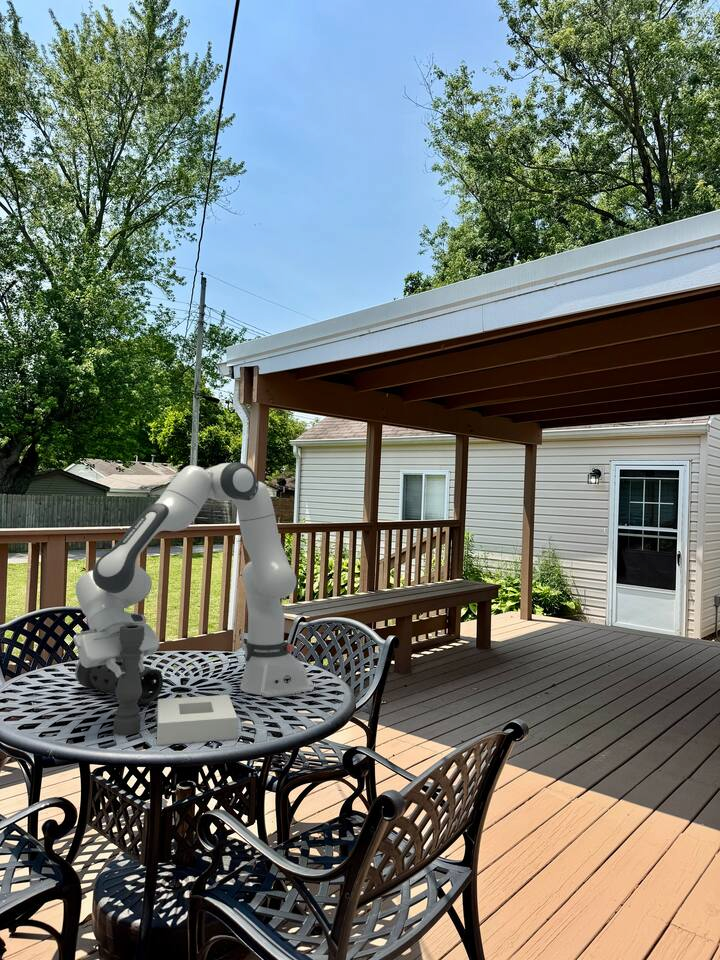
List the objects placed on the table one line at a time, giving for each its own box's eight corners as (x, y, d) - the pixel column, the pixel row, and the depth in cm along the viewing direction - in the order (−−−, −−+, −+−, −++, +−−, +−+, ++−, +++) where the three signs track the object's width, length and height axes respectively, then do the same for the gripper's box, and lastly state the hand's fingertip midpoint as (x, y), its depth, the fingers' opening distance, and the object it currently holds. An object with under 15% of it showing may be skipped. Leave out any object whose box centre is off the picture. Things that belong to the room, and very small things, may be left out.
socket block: (227, 713, 164) (228, 694, 164) (236, 738, 147) (237, 717, 147) (156, 718, 158) (158, 699, 158) (156, 745, 141) (158, 723, 141)
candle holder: (115, 726, 151) (120, 624, 153) (141, 725, 153) (147, 624, 154) (111, 735, 145) (116, 629, 147) (138, 734, 147) (144, 629, 148)
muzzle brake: (134, 711, 163) (136, 672, 164) (71, 691, 178) (73, 655, 178) (163, 702, 171) (165, 665, 172) (100, 684, 186) (102, 649, 186)
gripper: (76, 625, 146) (97, 674, 140) (150, 614, 162) (171, 658, 156) (65, 641, 148) (85, 690, 142) (139, 629, 165) (160, 672, 159)
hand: (131, 673), depth 149 cm, fingers closed on candle holder, 4 cm apart
